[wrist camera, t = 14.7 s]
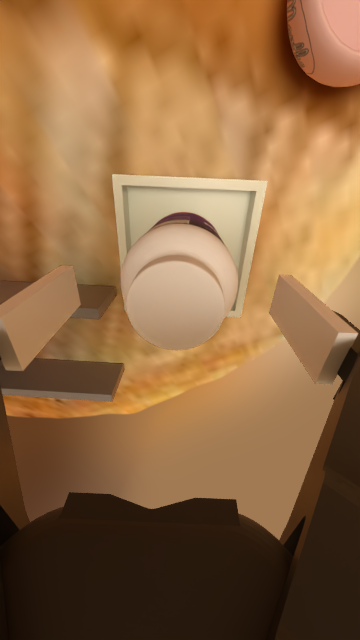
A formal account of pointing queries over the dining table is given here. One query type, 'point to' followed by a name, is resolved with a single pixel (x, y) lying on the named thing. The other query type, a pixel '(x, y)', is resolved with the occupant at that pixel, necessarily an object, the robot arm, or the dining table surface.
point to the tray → (196, 197)
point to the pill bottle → (179, 282)
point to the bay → (64, 374)
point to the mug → (326, 39)
